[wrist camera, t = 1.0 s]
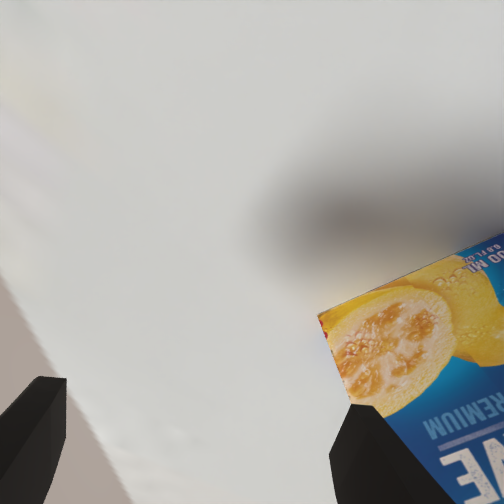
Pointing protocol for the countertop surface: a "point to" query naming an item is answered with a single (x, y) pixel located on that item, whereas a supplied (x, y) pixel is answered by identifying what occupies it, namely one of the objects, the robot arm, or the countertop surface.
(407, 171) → the countertop surface
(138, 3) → the countertop surface
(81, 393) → the countertop surface
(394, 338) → the beverage box
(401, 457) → the robot arm
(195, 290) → the countertop surface
